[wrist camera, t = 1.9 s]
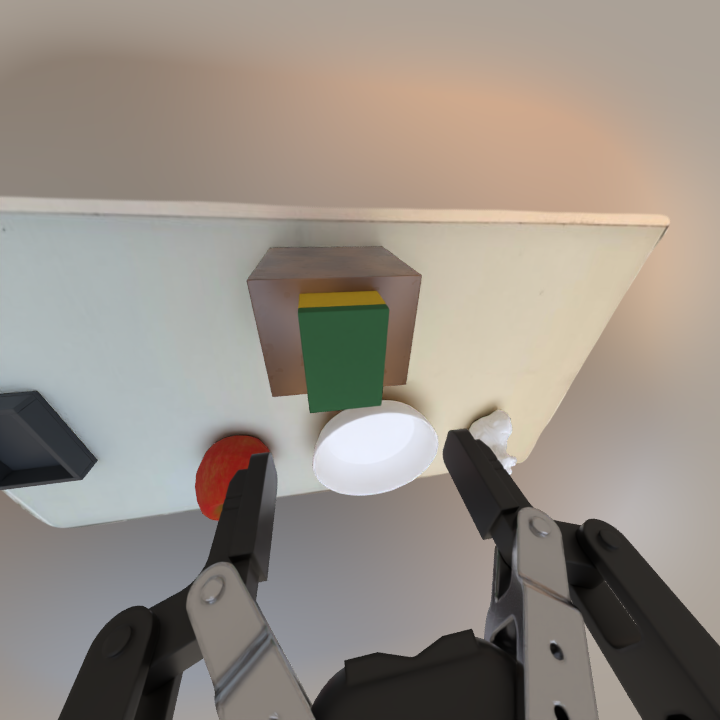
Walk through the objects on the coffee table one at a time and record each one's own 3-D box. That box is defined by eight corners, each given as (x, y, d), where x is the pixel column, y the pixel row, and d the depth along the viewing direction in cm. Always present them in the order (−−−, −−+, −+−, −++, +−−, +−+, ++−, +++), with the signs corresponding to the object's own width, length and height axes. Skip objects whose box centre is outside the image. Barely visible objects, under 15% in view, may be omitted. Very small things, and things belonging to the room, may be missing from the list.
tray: (-70, 399, 29) (-107, 419, 26) (37, 390, 31) (12, 408, 28) (14, 470, 36) (-8, 491, 34) (97, 460, 38) (82, 480, 35)
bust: (483, 394, 47) (476, 433, 38) (528, 411, 45) (532, 457, 36) (461, 438, 54) (451, 480, 45) (499, 455, 51) (497, 503, 42)
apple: (226, 475, 44) (206, 543, 36) (192, 437, 39) (159, 508, 30) (283, 459, 45) (277, 523, 36) (259, 420, 39) (244, 485, 30)
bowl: (298, 398, 38) (296, 430, 33) (425, 372, 39) (442, 399, 34) (324, 473, 49) (326, 506, 44) (423, 451, 50) (436, 480, 45)
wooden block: (283, 333, 32) (272, 397, 22) (269, 247, 26) (246, 280, 17) (377, 328, 34) (406, 384, 24) (382, 246, 28) (422, 275, 18)
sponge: (299, 293, 18) (297, 313, 15) (377, 290, 18) (390, 308, 15) (309, 384, 22) (309, 413, 19) (372, 379, 23) (381, 406, 20)
